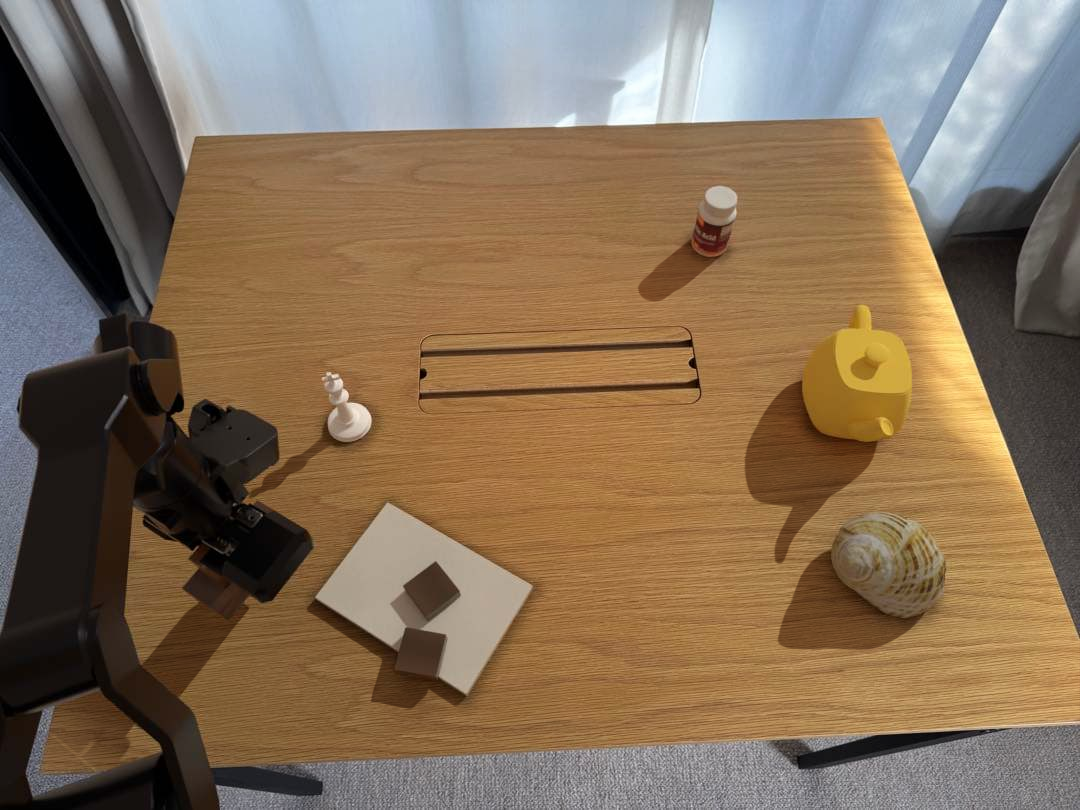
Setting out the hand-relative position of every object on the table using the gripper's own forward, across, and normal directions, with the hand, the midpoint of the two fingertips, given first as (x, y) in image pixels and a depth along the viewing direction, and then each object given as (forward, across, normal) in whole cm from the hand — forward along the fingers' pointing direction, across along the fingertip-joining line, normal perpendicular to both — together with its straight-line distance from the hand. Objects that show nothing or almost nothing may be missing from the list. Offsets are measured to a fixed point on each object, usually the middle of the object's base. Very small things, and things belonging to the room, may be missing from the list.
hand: (236, 551), depth 69 cm
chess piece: (+10, +5, -19) cm, 22 cm away
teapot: (+10, -43, -49) cm, 66 cm away
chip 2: (+8, -18, -2) cm, 20 cm away
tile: (+10, -14, -7) cm, 19 cm away
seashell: (+10, -52, -32) cm, 62 cm away
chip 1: (+8, -15, -8) cm, 19 cm away
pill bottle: (+10, -19, -65) cm, 69 cm away
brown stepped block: (+4, 0, 0) cm, 4 cm away
